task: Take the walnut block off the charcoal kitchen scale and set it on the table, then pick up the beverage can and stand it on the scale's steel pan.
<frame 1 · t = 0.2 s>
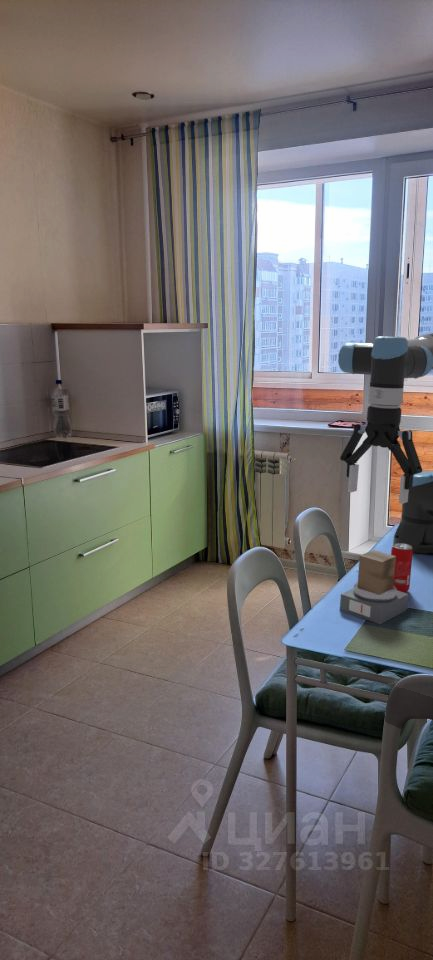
hand: (376, 497, 163), 27 cm above the table, tool pointing down, fingers open, 13 cm apart
walnut block: (375, 588, 165), point 5 cm above the table, touching scale pan
scale base: (373, 609, 166), on the table
scale pan: (375, 591, 165), point 5 cm above the table, slide at -0.4 cm, touching scale base, walnut block
beverage can: (398, 591, 178), on the table
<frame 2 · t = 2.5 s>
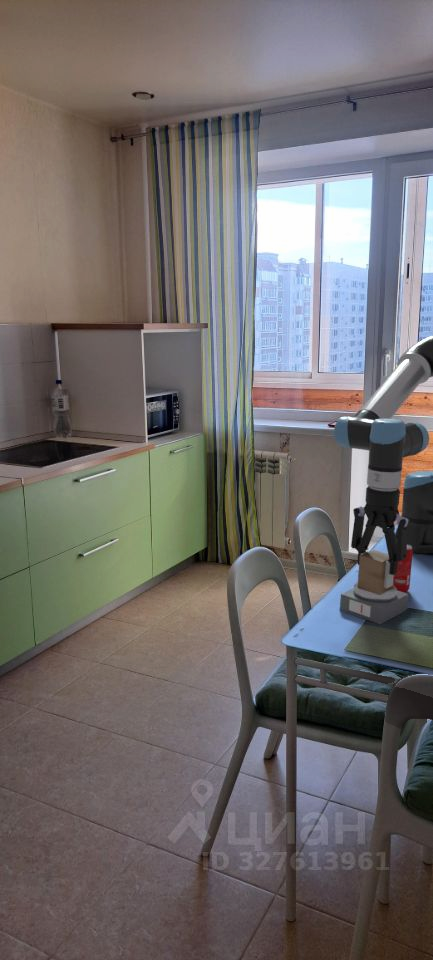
hand: (375, 582, 165), 7 cm above the table, tool pointing down, fingers closed on walnut block, 6 cm apart
walnut block: (375, 588, 165), point 6 cm above the table, touching gripper, scale pan
everything else where it was.
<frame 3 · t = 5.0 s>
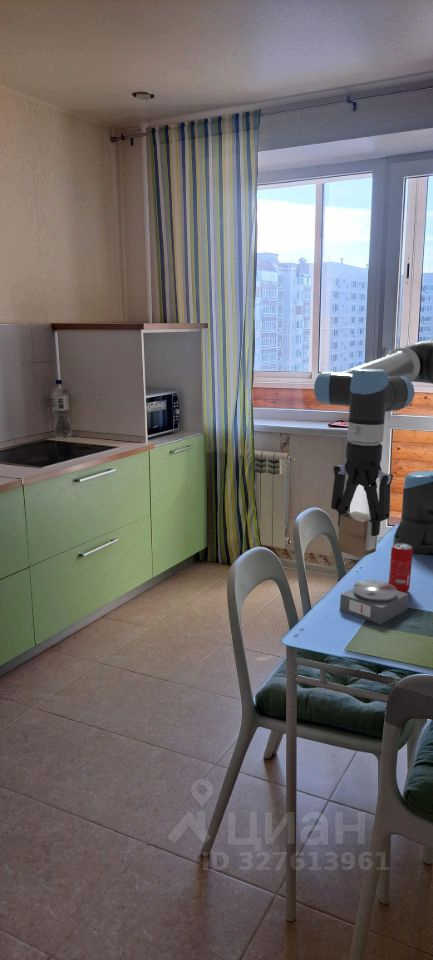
hand: (357, 545, 155), 19 cm above the table, tool pointing down, fingers closed on walnut block, 6 cm apart
walnut block: (356, 551, 155), point 17 cm above the table, touching gripper
scale pan: (375, 591, 165), point 5 cm above the table, slide at -0.4 cm, touching scale base
everything else where it was.
when the fingers open (2 cm above the table, at t = 7.6 s): walnut block drops 1 cm, on the table.
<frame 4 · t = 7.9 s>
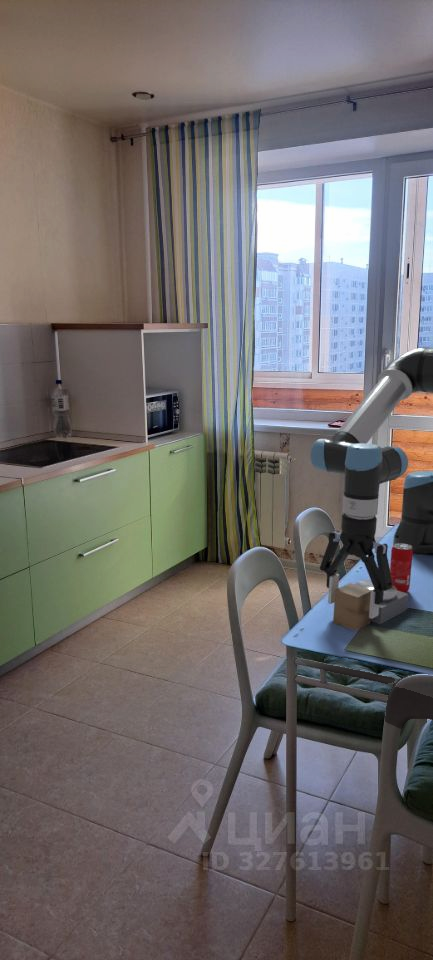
hand: (352, 609, 158), 3 cm above the table, tool pointing down, fingers open, 10 cm apart
walnut block: (351, 622, 159), on the table
everything else where it was.
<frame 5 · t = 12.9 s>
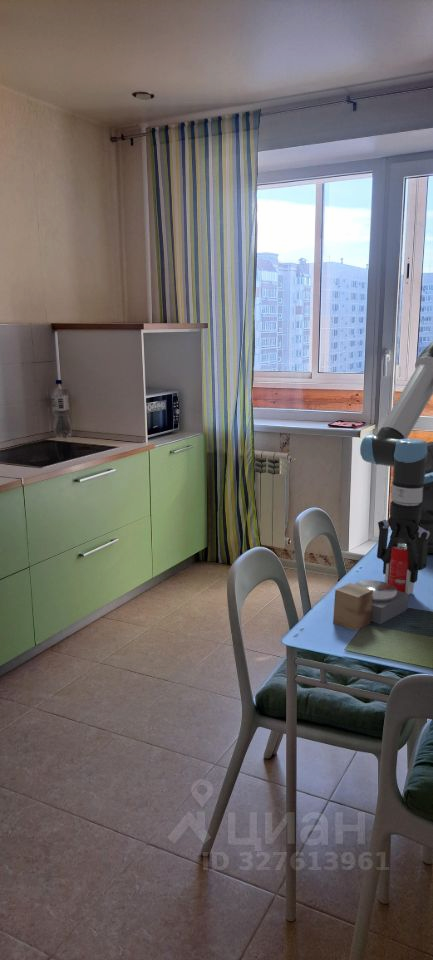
hand: (398, 589, 178), 0 cm above the table, tool pointing down, fingers closed on beverage can, 5 cm apart
beverage can: (398, 591, 178), on the table, touching gripper
everything else where it was.
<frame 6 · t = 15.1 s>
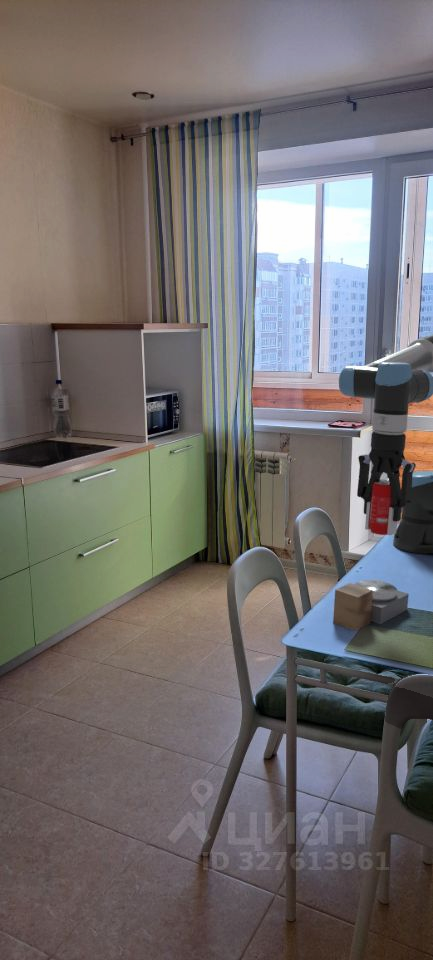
hand: (380, 531, 163), 19 cm above the table, tool pointing down, fingers closed on beverage can, 5 cm apart
beverage can: (380, 533, 163), point 19 cm above the table, touching gripper
everything else where it was.
when the fingers open (8 cm above the table, at t = 17.5 s): beverage can drops 2 cm, resting on scale pan.
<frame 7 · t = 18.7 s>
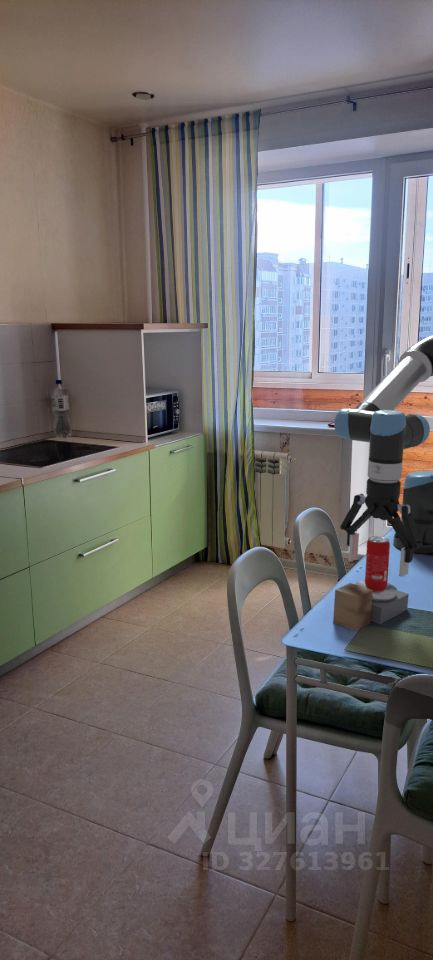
hand: (377, 567, 164), 11 cm above the table, tool pointing down, fingers open, 13 cm apart
scale pan: (375, 591, 165), point 5 cm above the table, slide at -0.4 cm, touching beverage can, scale base
beverage can: (375, 588, 165), point 5 cm above the table, touching scale pan
everything else where it was.
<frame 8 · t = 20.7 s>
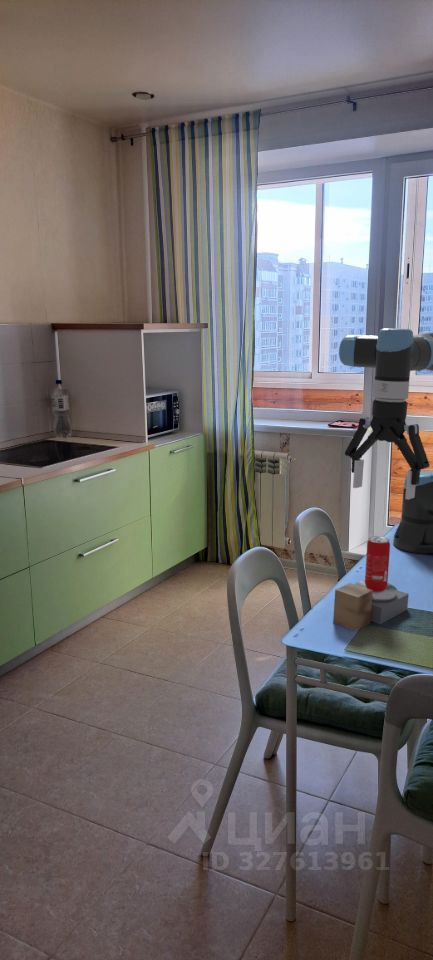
hand: (382, 492, 160), 29 cm above the table, tool pointing down, fingers open, 13 cm apart
nothing on the table moved.
at the end: beverage can 0.1 cm from the scale base (horizontally); beverage can tilted 1°; walnut block moved 11.7 cm from its start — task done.
